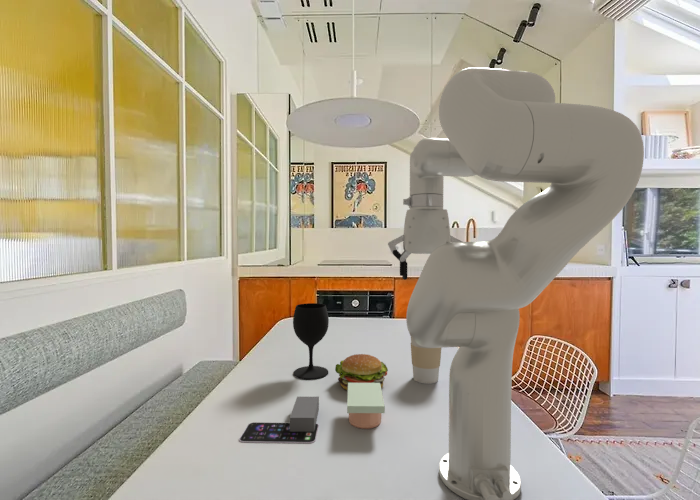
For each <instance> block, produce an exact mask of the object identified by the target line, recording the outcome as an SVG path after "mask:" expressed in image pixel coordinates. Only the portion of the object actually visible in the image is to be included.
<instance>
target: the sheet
mask: <svg viewBox="0 0 700 500" xmlns="http://www.w3.org/2000/svg"><path fill="white" fill-rule="evenodd" d="M346 407H347V409H346V410H347V414H349V413H381V414H385V413H386V411H385V410H386V406H385V401H384V396H383V391H382V388H381V385H380V383H348V390H347V403H346Z"/></svg>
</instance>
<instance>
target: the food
mask: <svg viewBox="0 0 700 500" xmlns="http://www.w3.org/2000/svg"><path fill="white" fill-rule="evenodd" d="M388 371H389V370H388V367H387V365H386V363H384V362H383V361H381V360H380V359H379V358H377V357H375V356H373V355H371V354H365V353H364V354H363V353H361V354H360V353H357V354H352V355H350V356H348V357H346V358H345V359H343V360H340V363H337V364H335V372H336V373H337V374H338V376H339V377H338V378H337V380H338V381H337V382H339V384H340V386H341V387H342V388H343V389H344V390H346V391H348V383H380V385H381V389H382V388H383V386H384V382H385V377H386V376H387V375H388Z"/></svg>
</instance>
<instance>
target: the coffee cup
mask: <svg viewBox="0 0 700 500" xmlns="http://www.w3.org/2000/svg"><path fill="white" fill-rule="evenodd" d="M410 354H411V364H412V375H413V376H412V377H413V381H416V382H418V383H422V384H435V383H437V382H438V381H439V376H440V375H439V374H440V366H441V359H442V358H441V357H442V348H428V347H423V346H421V345H419V344H417V343H416V342H415V341H414V340H413V339H412V337H411V336H410Z"/></svg>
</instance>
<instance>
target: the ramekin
mask: <svg viewBox="0 0 700 500" xmlns="http://www.w3.org/2000/svg"><path fill="white" fill-rule="evenodd" d="M348 423H349V424H350V425H351V426H352V427H354V428H357V429H362V430H369V429H374V428H376V427H379V426H380V425H381V423H382V413H348Z"/></svg>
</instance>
